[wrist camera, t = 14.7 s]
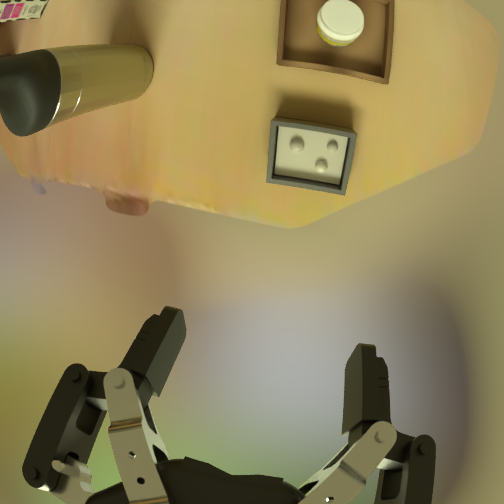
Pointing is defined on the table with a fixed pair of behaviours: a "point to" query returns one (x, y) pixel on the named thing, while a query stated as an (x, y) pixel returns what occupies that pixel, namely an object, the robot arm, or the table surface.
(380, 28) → the walnut tray
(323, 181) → the bin
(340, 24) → the supplement bottle
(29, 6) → the candy bar box
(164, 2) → the table surface
